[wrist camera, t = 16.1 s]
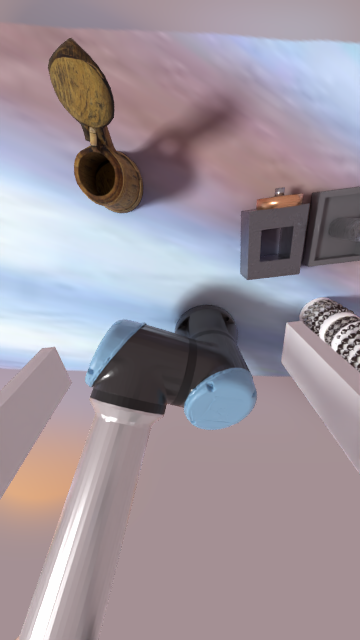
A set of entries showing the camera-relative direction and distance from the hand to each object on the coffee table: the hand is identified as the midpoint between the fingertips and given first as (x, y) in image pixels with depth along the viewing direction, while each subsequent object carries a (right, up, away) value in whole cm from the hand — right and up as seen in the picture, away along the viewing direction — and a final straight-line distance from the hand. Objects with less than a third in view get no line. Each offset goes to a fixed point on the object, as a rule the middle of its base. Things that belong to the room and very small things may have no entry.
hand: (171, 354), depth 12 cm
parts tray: (+31, +20, +29) cm, 47 cm away
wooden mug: (-10, +28, +24) cm, 39 cm away
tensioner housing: (+18, +19, +29) cm, 39 cm away
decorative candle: (+33, +4, +38) cm, 51 cm away
